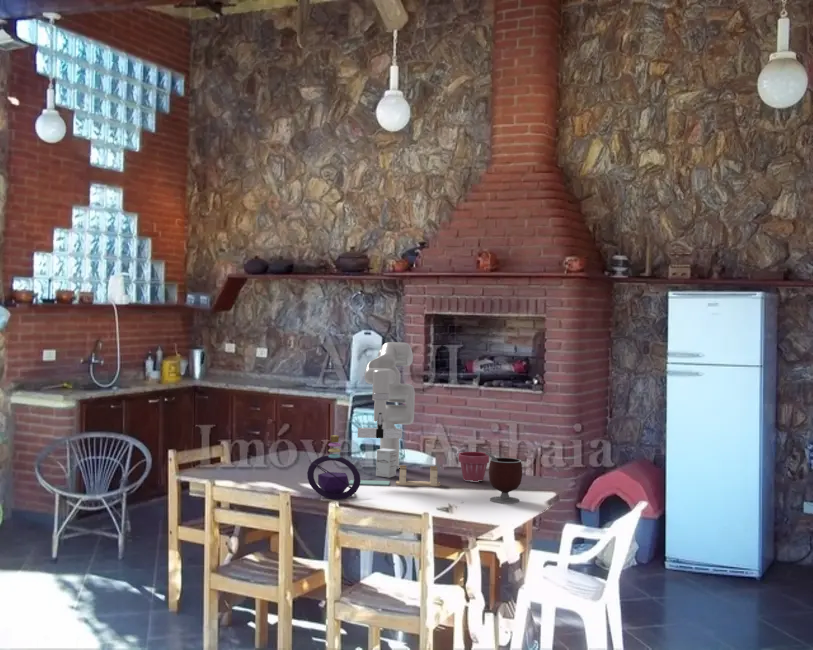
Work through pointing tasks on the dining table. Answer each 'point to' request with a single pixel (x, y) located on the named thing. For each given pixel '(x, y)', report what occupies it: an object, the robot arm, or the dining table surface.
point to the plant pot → (473, 465)
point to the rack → (418, 483)
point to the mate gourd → (505, 478)
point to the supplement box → (386, 462)
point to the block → (386, 433)
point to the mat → (371, 482)
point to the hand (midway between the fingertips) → (379, 436)
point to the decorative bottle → (333, 476)
